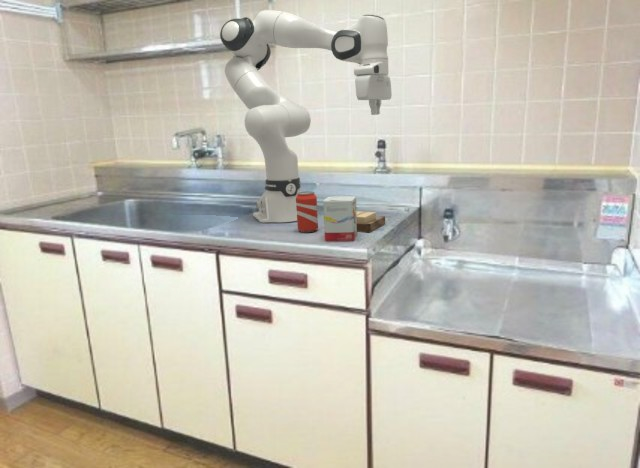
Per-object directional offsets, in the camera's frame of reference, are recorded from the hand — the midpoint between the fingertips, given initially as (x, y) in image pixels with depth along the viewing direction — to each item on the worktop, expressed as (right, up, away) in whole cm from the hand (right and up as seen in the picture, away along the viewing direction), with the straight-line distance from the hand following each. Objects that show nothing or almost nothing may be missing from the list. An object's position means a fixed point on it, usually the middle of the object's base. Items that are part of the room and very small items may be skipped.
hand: (375, 114), depth 161 cm
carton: (-5, -37, -4) cm, 37 cm away
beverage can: (-22, -38, -5) cm, 44 cm away
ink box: (-12, -40, -16) cm, 44 cm away
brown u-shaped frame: (-5, -36, -3) cm, 37 cm away
